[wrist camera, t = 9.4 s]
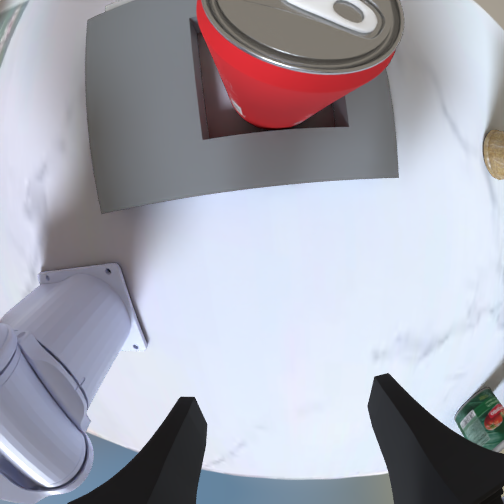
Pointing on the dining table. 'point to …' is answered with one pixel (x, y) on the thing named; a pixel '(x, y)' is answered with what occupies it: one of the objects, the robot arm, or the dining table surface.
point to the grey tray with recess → (205, 119)
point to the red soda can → (297, 52)
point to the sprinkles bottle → (494, 153)
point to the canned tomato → (482, 420)
